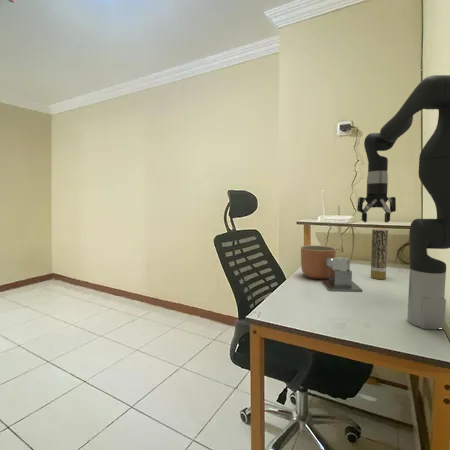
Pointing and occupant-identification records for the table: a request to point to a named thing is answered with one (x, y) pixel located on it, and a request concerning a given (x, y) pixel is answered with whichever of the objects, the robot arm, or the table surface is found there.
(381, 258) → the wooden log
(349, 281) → the duct socket
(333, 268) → the silver block with cylinder
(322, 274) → the planter
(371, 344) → the table surface
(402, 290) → the table surface
